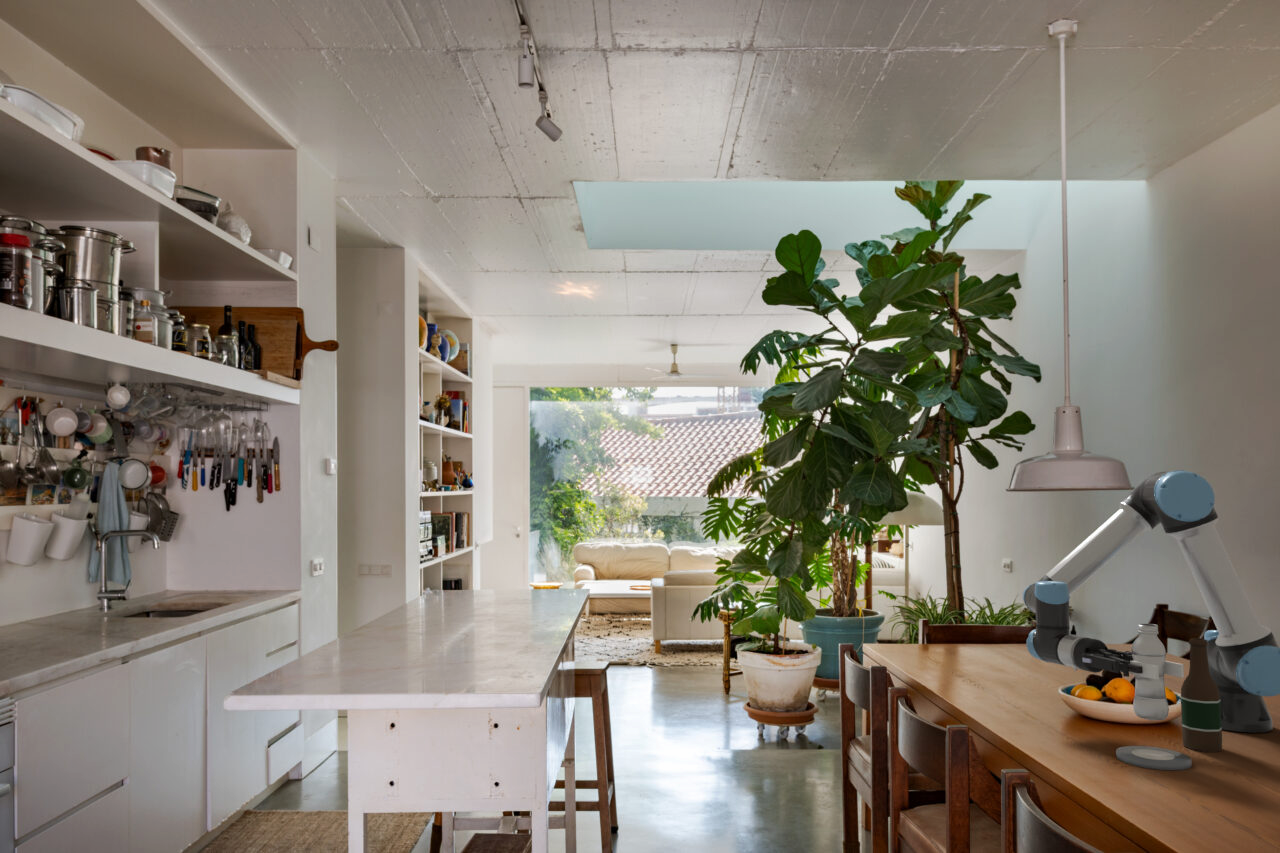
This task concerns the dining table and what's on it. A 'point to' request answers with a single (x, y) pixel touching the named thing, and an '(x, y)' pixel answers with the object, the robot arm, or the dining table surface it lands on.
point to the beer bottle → (1200, 703)
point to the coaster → (1153, 758)
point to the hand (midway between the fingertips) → (1169, 671)
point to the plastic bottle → (1149, 690)
